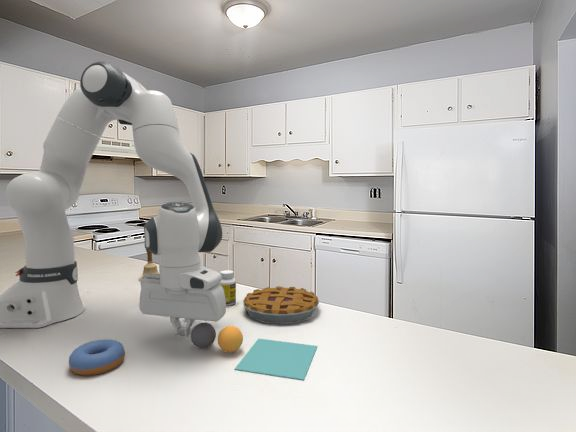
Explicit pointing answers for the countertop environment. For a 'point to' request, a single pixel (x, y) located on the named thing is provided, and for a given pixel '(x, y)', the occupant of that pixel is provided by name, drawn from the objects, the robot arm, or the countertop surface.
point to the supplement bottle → (228, 287)
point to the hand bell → (149, 266)
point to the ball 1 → (203, 335)
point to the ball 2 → (230, 339)
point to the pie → (281, 304)
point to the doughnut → (96, 357)
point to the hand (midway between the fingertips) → (183, 335)
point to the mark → (278, 359)
